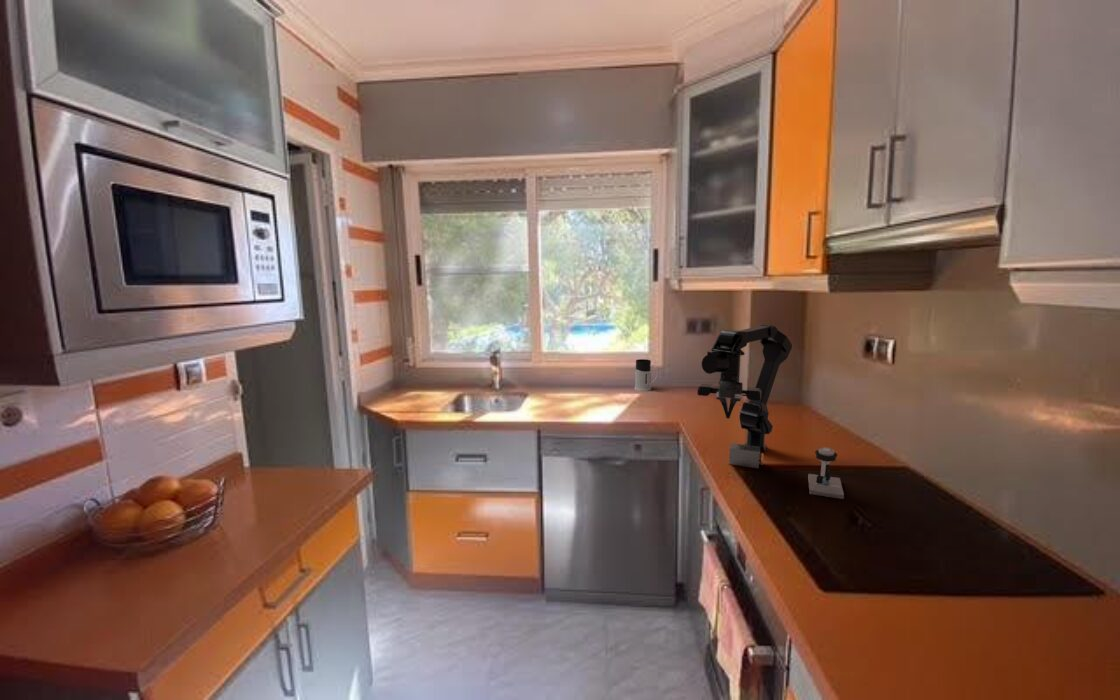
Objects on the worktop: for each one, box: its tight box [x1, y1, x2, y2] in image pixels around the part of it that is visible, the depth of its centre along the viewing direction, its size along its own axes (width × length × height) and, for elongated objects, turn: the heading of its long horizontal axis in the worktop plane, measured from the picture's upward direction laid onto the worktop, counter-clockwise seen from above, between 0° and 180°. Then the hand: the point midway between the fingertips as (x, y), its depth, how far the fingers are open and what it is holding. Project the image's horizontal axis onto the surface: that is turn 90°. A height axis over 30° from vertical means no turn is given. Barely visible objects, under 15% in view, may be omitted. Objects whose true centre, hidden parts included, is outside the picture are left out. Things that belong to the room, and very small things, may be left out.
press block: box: [728, 443, 761, 469], centre depth 157 cm, size 5×8×5 cm, turn 66°
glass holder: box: [633, 358, 660, 392], centre depth 258 cm, size 9×14×15 cm, turn 40°
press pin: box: [759, 452, 764, 466], centre depth 157 cm, size 3×9×3 cm, turn 66°
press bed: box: [807, 473, 845, 500], centre depth 138 cm, size 12×8×3 cm, turn 156°
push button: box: [814, 447, 838, 485], centre depth 138 cm, size 7×5×10 cm
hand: (728, 418), depth 161 cm, fingers closed
